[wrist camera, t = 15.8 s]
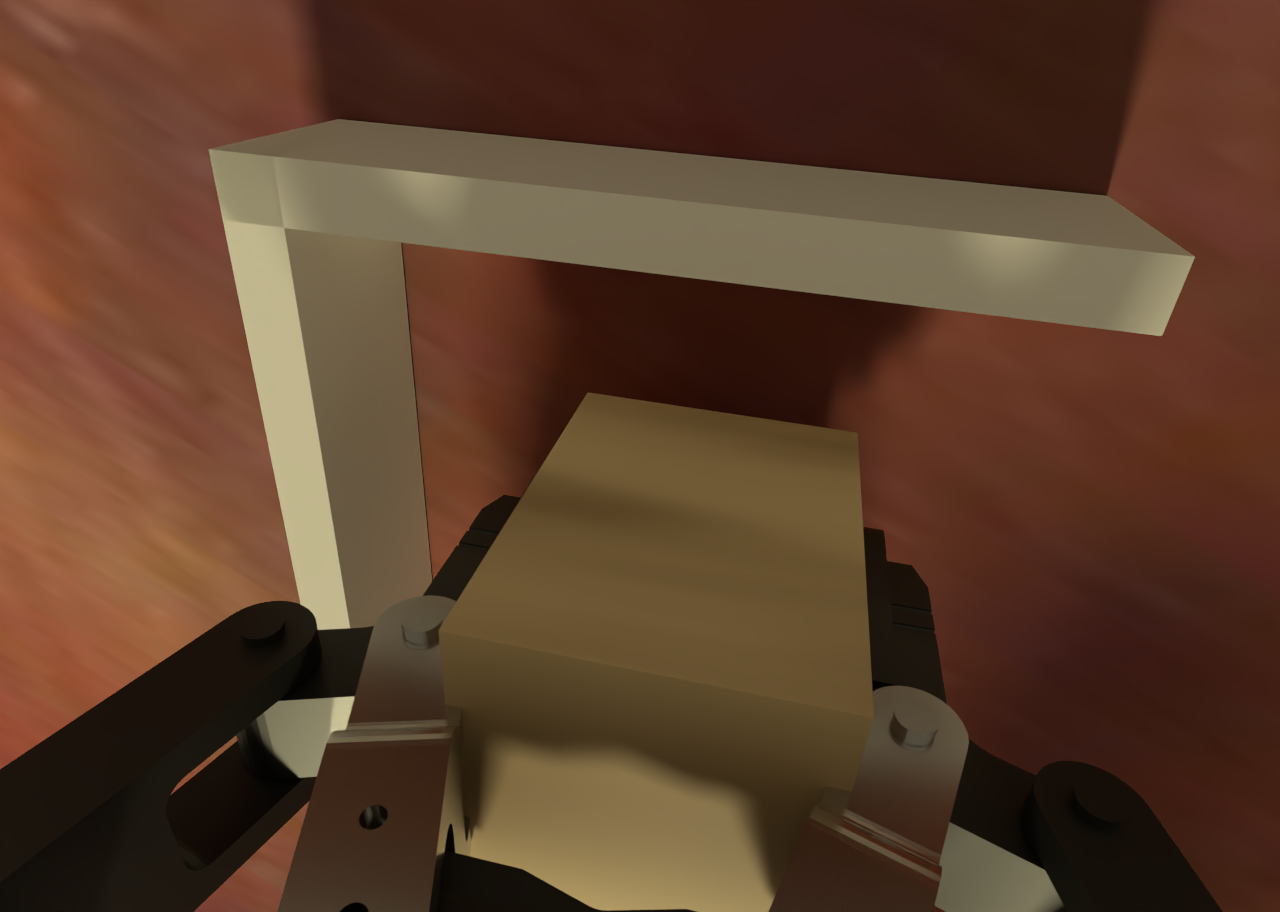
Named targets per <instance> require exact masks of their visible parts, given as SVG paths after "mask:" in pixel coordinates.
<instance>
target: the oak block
mask: <svg viewBox="0 0 1280 912" xmlns="http://www.w3.org/2000/svg"><path fill="white" fill-rule="evenodd" d="M439 642H440V653H441V664H442V675H443V686H444V697H445V704H446V705H451V706H456V707H460V708H462V719H463V732H464V737H463V746H462V758H461V791H462V803H463V815H464V816H467V817H470V824H471V837H472V841H471V853H470V856H471V857H475V858H479V859H483V860H487V861H491V862H495V863H499V864H503V865H508V866H512V867H516V868H520V869H523V870H525V871H527V872H529V873H530V874H532V875H534V876H536V877H538V878H539V879H541V880H543V881H545V882H547V883H548V884H550V885H552V886H554V887H556V888H557V889H559V890H561V891H563V892H565V893H566V894H568V895H570V896H572V897H574V898H575V899H577V900H579V901H581V902H583V903H584V904H586V905H588V906H590V907H592V908H594V909H598V910H606V911H611V910H662V909H688V910H692V911H697V912H769V909H770V907H771V905H772V902H773V900H774V898H775V895H776V893H777V891H778V888H779V886H780V884H781V881H782V879H783V877H784V874H785V872H786V870H787V867H788V865H789V863H790V860H791V858H792V856H793V853H794V851H795V849H796V846H797V844H798V842H799V839H800V837H801V835H802V832H803V830H804V828H805V825H806V823H807V821H808V819H809V816H810V814H811V812H812V810H813V808H814V807H815V805H817V806H819V804H820V802H821V800H822V797H823V795H824V793H825V790H826V788H827V786H828V787H833V788H837V789H842V790H846V791H851V792H852V789H853V786H854V783H855V779H856V776H857V773H858V769H859V766H860V763H861V759H862V756H863V753H864V750H865V746H866V743H867V740H868V736H869V733H870V730H871V726H872V723H873V720H874V708H873V691H872V673H871V656H870V638H869V621H868V603H867V586H866V569H865V551H864V534H863V516H862V499H861V481H860V464H859V446H858V433H857V432H850V431H844V430H837V429H830V428H823V427H817V426H810V425H803V424H797V423H790V422H783V421H776V420H770V419H763V418H756V417H750V416H743V415H736V414H729V413H723V412H716V411H709V410H703V409H696V408H689V407H682V406H676V405H669V404H662V403H656V402H649V401H642V400H635V399H629V398H622V397H615V396H609V395H602V394H595V393H587V394H586V396H585V397H584V399H583V401H582V402H581V404H580V405H579V407H578V409H577V410H576V412H575V413H574V415H573V417H572V418H571V420H570V421H569V423H568V424H567V426H566V428H565V429H564V431H563V432H562V434H561V436H560V437H559V439H558V440H557V442H556V444H555V445H554V447H553V448H552V450H551V452H550V453H549V455H548V456H547V458H546V460H545V461H544V463H543V464H542V466H541V468H540V469H539V471H538V472H537V474H536V476H535V477H534V479H533V480H532V482H531V484H530V485H529V487H528V488H527V490H526V492H525V493H524V495H523V496H522V498H521V500H520V501H519V503H518V504H517V506H516V508H515V509H514V511H513V512H512V514H511V516H510V517H509V519H508V520H507V522H506V524H505V525H504V527H503V528H502V530H501V532H500V533H499V535H498V536H497V538H496V540H495V541H494V543H493V544H492V546H491V547H490V549H489V551H488V552H487V554H486V555H485V557H484V559H483V560H482V562H481V563H480V565H479V567H478V568H477V570H476V571H475V573H474V575H473V576H472V578H471V579H470V581H469V583H468V584H467V586H466V587H465V589H464V591H463V592H462V594H461V595H460V597H459V599H458V600H457V602H456V603H455V605H454V607H453V608H452V610H451V611H450V613H449V615H448V616H447V618H446V619H445V621H444V623H443V624H442V626H441V627H440V629H439Z"/></svg>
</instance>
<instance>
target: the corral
mask: <svg viewBox="0 0 1280 912" xmlns="http://www.w3.org/2000/svg"><path fill="white" fill-rule="evenodd" d="M209 154H210V159H211V164H212V169H213V174H214V179H215V184H216V189H217V193H218V198H219V203H220V208H221V213H222V218H223V223H224V228H225V233H226V238H227V243H228V248H229V253H230V258H231V263H232V268H233V272H234V277H235V282H236V287H237V292H238V297H239V302H240V307H241V312H242V317H243V322H244V327H245V332H246V337H247V342H248V347H249V351H250V356H251V361H252V366H253V371H254V376H255V381H256V386H257V391H258V396H259V401H260V406H261V411H262V416H263V421H264V426H265V431H266V435H267V440H268V445H269V450H270V455H271V460H272V465H273V470H274V475H275V480H276V485H277V490H278V495H279V500H280V505H281V510H282V514H283V519H284V524H285V529H286V534H287V539H288V544H289V549H290V554H291V559H292V564H293V569H294V574H295V579H296V584H297V589H298V593H299V598H300V603H301V605H303V606H304V607H306V608H308V609H309V610H310V611H311V612H312V613H313V615H314V616H315V619H316V623H317V628H318V630H326V629H346V628H362V627H370V626H374V625H375V622H376V621H377V619H378V618H379V617H380V616H381V614H382V613H383V612H384V611H386V610H387V609H388V608H390V607H391V606H393V605H395V604H396V603H398V602H401V601H403V600H406V599H409V598H413V597H418V596H423V594H424V593H425V591H426V590H427V588H428V587H429V585H430V584H431V583H432V573H431V562H430V551H429V540H428V530H427V519H426V508H425V497H424V486H423V475H422V464H421V453H420V443H419V432H418V421H417V410H416V399H415V388H414V377H413V366H412V356H411V345H410V334H409V323H408V312H407V301H406V290H405V279H404V269H403V258H402V247H401V242H403V243H411V244H419V245H427V246H435V247H443V248H451V249H459V250H468V251H476V252H484V253H492V254H500V255H508V256H516V257H524V258H532V259H541V260H549V261H557V262H565V263H573V264H581V265H589V266H597V267H605V268H613V269H622V270H630V271H638V272H646V273H654V274H662V275H670V276H678V277H686V278H694V279H703V280H711V281H719V282H727V283H735V284H743V285H751V286H759V287H767V288H776V289H784V290H792V291H800V292H808V293H816V294H824V295H832V296H840V297H848V298H857V299H865V300H873V301H881V302H889V303H897V304H905V305H913V306H921V307H930V308H938V309H946V310H954V311H962V312H970V313H978V314H986V315H994V316H1002V317H1011V318H1019V319H1027V320H1035V321H1043V322H1051V323H1059V324H1067V325H1075V326H1084V327H1092V328H1100V329H1108V330H1116V331H1124V332H1132V333H1140V334H1148V335H1156V336H1162V335H1163V332H1164V330H1165V328H1166V325H1167V323H1168V320H1169V318H1170V316H1171V313H1172V311H1173V308H1174V306H1175V304H1176V301H1177V299H1178V296H1179V294H1180V292H1181V289H1182V287H1183V284H1184V282H1185V280H1186V277H1187V275H1188V272H1189V270H1190V268H1191V265H1192V263H1193V260H1194V258H1195V256H1193V255H1192V254H1190V253H1189V252H1187V251H1186V250H1185V249H1183V248H1182V247H1180V246H1179V245H1177V244H1176V243H1175V242H1173V241H1172V240H1170V239H1169V238H1167V237H1166V236H1165V235H1163V234H1162V233H1160V232H1159V231H1157V230H1156V229H1155V228H1153V227H1152V226H1150V225H1149V224H1147V223H1146V222H1144V221H1143V220H1142V219H1140V218H1139V217H1137V216H1136V215H1134V214H1133V213H1132V212H1130V211H1129V210H1127V209H1126V208H1124V207H1123V206H1122V205H1120V204H1119V203H1117V202H1116V201H1114V200H1113V199H1112V198H1110V197H1109V196H1104V195H1094V194H1084V193H1074V192H1064V191H1054V190H1044V189H1034V188H1024V187H1014V186H1004V185H994V184H984V183H974V182H964V181H954V180H944V179H934V178H924V177H914V176H904V175H894V174H884V173H874V172H864V171H854V170H844V169H834V168H824V167H814V166H804V165H794V164H784V163H774V162H764V161H754V160H744V159H734V158H724V157H714V156H704V155H694V154H684V153H674V152H664V151H654V150H644V149H634V148H624V147H614V146H604V145H594V144H584V143H574V142H564V141H554V140H544V139H534V138H524V137H514V136H504V135H494V134H484V133H474V132H464V131H454V130H444V129H434V128H424V127H414V126H404V125H393V124H383V123H373V122H363V121H353V120H343V119H336V120H332V121H328V122H324V123H319V124H315V125H311V126H306V127H302V128H298V129H294V130H289V131H285V132H281V133H276V134H272V135H268V136H264V137H259V138H255V139H251V140H246V141H242V142H238V143H234V144H229V145H225V146H221V147H216V148H212V149H209Z"/></svg>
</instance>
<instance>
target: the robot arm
mask: <svg viewBox="0 0 1280 912" xmlns="http://www.w3.org/2000/svg"><path fill="white" fill-rule="evenodd" d="M535 476H536V475H535ZM535 476H534V477H535ZM533 479H534V478H533ZM533 479H532V480H533ZM531 482H532V481H531ZM530 484H531V483H530ZM530 484H529V485H530ZM528 487H529V486H528ZM528 487H527V488H528ZM526 490H527V489H526ZM525 492H526V491H525ZM525 492H524V493H525ZM523 495H524V494H523ZM523 495H522V496H523ZM521 498H522V497H521ZM521 498H519V497H513V496H507V495H503V496H502V497H500V498H499V499H497V500H496V501H494V502H492V503H491V504H489V505H488V506H486V507H484V508H483V509H482V510H481V511H480V513H479V514H478V516H477V517H476V519H475V520H474V522H473V523H472V524H471V526H470V529H469V531H467V532H466V533H465V535H464V536H463V538H462V539H461V540H460V542H459V546H456V548H455V549H454V551H453V552H452V554H451V555H450V556H449V558H448V559H447V561H446V562H445V564H444V565H443V567H442V568H441V570H440V571H439V572H438V574H437V575H436V577H435V578H434V580H433V581H432V583H431V584H430V585H429V587H428V588H427V590H426V591H425V593H424V594H423V596H418V597H413V598H409V599H406V600H403V601H401V602H398V603H396V604H395V605H393V606H391V607H390V608H388V609H387V610H386V611H384V612H383V613H382V614H381V616H380V617H379V618H378V619H377V621H376V622H375V625H374V626H370V627H362V628H346V629H326V630H318V628H317V623H316V619H315V616H314V615H313V613H312V612H311V611H310V610H309V609H308V608H306V607H304V606H303V605H300V604H298V603H294V602H288V601H271V602H264V603H260V604H255V605H252V606H249V607H247V608H244V609H242V610H240V611H238V612H236V613H234V614H233V615H231V616H229V617H228V618H226V619H225V620H223V621H222V622H220V623H219V624H217V625H216V626H214V627H213V628H211V629H210V630H208V631H207V632H205V633H204V634H202V635H201V636H200V637H198V638H197V639H195V640H194V641H192V642H191V643H189V644H188V645H186V646H185V647H183V648H182V649H180V650H179V651H177V652H176V653H174V654H173V655H171V656H170V657H168V658H167V659H165V660H164V661H162V662H161V663H159V664H158V665H156V666H155V667H153V668H152V669H150V670H149V671H147V672H146V673H144V674H143V675H141V676H140V677H138V678H137V679H135V680H134V681H132V682H131V683H129V684H128V685H126V686H125V687H123V688H122V689H120V690H119V691H117V692H116V693H114V694H113V695H111V696H110V697H108V698H107V699H105V700H104V701H102V702H101V703H99V704H98V705H96V706H95V707H93V708H92V709H90V710H89V711H87V712H86V713H84V714H83V715H81V716H80V717H78V718H77V719H75V720H74V721H72V722H71V723H69V724H68V725H66V726H65V727H63V728H62V729H60V730H59V731H57V732H56V733H54V734H53V735H51V736H50V737H48V738H47V739H45V740H44V741H42V742H41V743H39V744H38V745H36V746H35V747H33V748H32V749H30V750H29V751H27V752H26V753H24V754H23V755H21V756H20V757H18V758H17V759H15V760H14V761H12V762H11V763H9V764H8V765H6V766H5V767H3V768H2V769H0V912H194V911H195V910H196V909H197V908H198V907H199V906H200V905H201V904H202V903H203V902H204V901H205V900H206V899H207V898H208V897H209V896H210V895H211V894H212V893H213V892H215V891H216V890H217V889H218V888H219V887H220V886H221V885H222V884H223V883H224V882H225V881H226V880H227V879H228V878H229V877H230V876H231V875H232V874H233V873H234V872H235V871H236V870H237V869H238V868H240V867H241V866H242V865H243V864H244V863H245V862H246V861H247V860H248V859H249V858H250V857H251V856H252V855H253V854H254V853H255V852H256V851H257V850H258V849H259V848H260V847H261V846H262V845H263V844H265V843H266V842H267V841H268V840H269V839H270V838H271V837H272V836H273V835H274V834H275V833H276V832H277V831H278V830H279V829H280V828H281V827H282V826H283V825H284V824H285V823H286V822H287V821H289V820H290V819H291V818H292V817H293V816H294V815H295V814H296V813H297V812H298V811H299V810H300V809H301V808H302V807H303V806H304V805H305V804H306V803H307V802H308V801H309V800H310V801H309V805H308V808H307V812H306V815H305V819H304V822H303V826H302V829H301V832H300V836H299V839H298V843H297V846H296V850H295V853H294V857H293V860H292V864H291V867H290V870H289V874H288V877H287V881H286V884H285V888H284V891H283V895H282V898H281V901H280V905H279V908H278V912H697V911H692V910H688V909H662V910H611V911H606V910H598V909H594V908H592V907H590V906H588V905H586V904H584V903H583V902H581V901H579V900H577V899H575V898H574V897H572V896H570V895H568V894H566V893H565V892H563V891H561V890H559V889H557V888H556V887H554V886H552V885H550V884H548V883H547V882H545V881H543V880H541V879H539V878H538V877H536V876H534V875H532V874H530V873H529V872H527V871H525V870H523V869H520V868H516V867H512V866H508V865H503V864H499V863H495V862H491V861H487V860H483V859H479V858H475V857H471V856H470V853H471V841H472V837H471V824H470V817H467V816H464V815H463V803H462V791H461V758H462V746H463V737H464V732H463V719H462V708H460V707H456V706H451V705H446V704H445V697H444V686H443V675H442V664H441V653H440V642H439V629H440V627H441V626H442V624H443V623H444V621H445V619H446V618H447V616H448V615H449V613H450V611H451V610H452V608H453V607H454V605H455V603H456V602H457V600H458V599H459V597H460V595H461V594H462V592H463V591H464V589H465V587H466V586H467V584H468V583H469V581H470V579H471V578H472V576H473V575H474V573H475V571H476V570H477V568H478V567H479V565H480V563H481V562H482V560H483V559H484V557H485V555H486V554H487V552H488V551H489V549H490V547H491V546H492V544H493V543H494V541H495V540H496V538H497V536H498V535H499V533H500V532H501V530H502V528H503V527H504V525H505V524H506V522H507V520H508V519H509V517H510V516H511V514H512V512H513V511H514V509H515V508H516V506H517V504H518V503H519V501H520V500H521ZM863 534H864V551H865V569H866V586H867V603H868V621H869V638H870V656H871V673H872V691H873V708H874V720H873V723H872V726H871V730H870V733H869V736H868V740H867V743H866V746H865V750H864V753H863V756H862V759H861V763H860V766H859V769H858V773H857V776H856V779H855V783H854V786H853V789H852V792H851V791H846V790H842V789H837V788H833V787H828V786H827V788H826V790H825V793H824V795H823V797H822V800H821V802H820V804H819V806H817V805H815V807H814V808H813V810H812V812H811V814H810V816H809V819H808V821H807V823H806V825H805V828H804V830H803V832H802V835H801V837H800V839H799V842H798V844H797V846H796V849H795V851H794V853H793V856H792V858H791V860H790V863H789V865H788V867H787V870H786V872H785V874H784V877H783V879H782V881H781V884H780V886H779V888H778V891H777V893H776V895H775V898H774V900H773V902H772V905H771V907H770V909H769V912H933V909H934V906H936V907H938V908H940V909H942V910H943V911H945V912H1222V910H1221V909H1220V907H1219V906H1218V904H1217V903H1216V902H1215V900H1214V899H1213V897H1212V896H1211V894H1210V893H1209V892H1208V890H1207V889H1206V887H1205V886H1204V884H1203V883H1202V882H1201V880H1200V879H1199V877H1198V876H1197V874H1196V873H1195V872H1194V870H1193V869H1192V867H1191V866H1190V864H1189V863H1188V862H1187V860H1186V859H1185V857H1184V856H1183V855H1182V853H1181V852H1180V850H1179V849H1178V847H1177V846H1176V845H1175V843H1174V842H1173V840H1172V839H1171V837H1170V836H1169V835H1168V833H1167V832H1166V830H1165V829H1164V827H1163V826H1162V825H1161V823H1160V822H1159V820H1158V819H1157V817H1156V816H1155V815H1154V813H1153V812H1152V810H1151V809H1150V807H1149V806H1148V805H1147V804H1146V802H1145V801H1144V800H1143V799H1142V798H1141V797H1140V796H1139V795H1138V794H1137V793H1136V792H1135V791H1134V790H1133V789H1132V788H1131V787H1129V786H1128V785H1127V784H1126V783H1124V782H1123V781H1121V780H1120V779H1119V778H1117V777H1116V776H1114V775H1112V774H1110V773H1108V772H1106V771H1104V770H1102V769H1100V768H1097V767H1095V766H1092V765H1089V764H1085V763H1081V762H1075V761H1059V762H1054V763H1051V764H1048V765H1047V766H1045V767H1043V768H1042V769H1041V770H1040V771H1039V772H1038V774H1037V776H1036V775H1034V774H1031V773H1029V772H1027V771H1025V770H1023V769H1020V768H1018V767H1016V766H1014V765H1012V764H1010V763H1007V762H1005V761H1003V760H1001V759H999V758H997V757H995V756H993V755H991V754H989V753H988V752H986V751H985V750H983V749H981V748H980V747H979V746H977V745H976V744H975V743H973V742H972V741H971V740H970V739H969V738H968V734H967V731H966V728H965V726H964V724H963V722H962V720H961V719H960V718H959V716H958V715H957V714H956V713H955V712H954V711H953V710H952V709H951V708H950V707H949V706H948V705H947V703H946V697H945V690H944V684H943V678H942V672H941V666H940V659H939V653H938V647H937V641H936V635H935V634H934V630H935V628H934V622H933V616H932V615H931V611H932V610H931V604H930V597H929V591H928V587H927V586H926V584H925V583H924V582H923V580H922V579H921V578H920V576H919V575H918V573H917V572H916V571H915V569H914V568H913V567H912V565H906V564H900V563H894V562H889V561H887V559H886V548H885V538H884V532H883V530H878V529H872V528H866V527H863ZM235 735H236V736H237V739H238V741H237V742H235V743H234V744H233V745H232V746H230V747H229V748H228V749H227V750H226V751H224V752H223V753H222V754H221V755H219V756H218V757H217V758H216V759H215V760H213V761H212V762H211V763H210V764H208V765H207V766H206V767H205V768H203V769H202V770H201V771H200V772H199V773H197V774H196V775H195V776H194V777H192V778H191V779H190V780H189V781H188V782H186V783H185V784H184V785H183V786H181V787H180V788H179V789H178V790H176V791H175V792H174V793H173V794H172V795H170V794H171V793H172V791H173V789H174V788H175V787H176V785H177V784H178V783H179V782H180V781H181V780H182V779H183V778H184V777H185V776H186V775H187V774H188V773H190V772H191V771H192V770H193V769H195V768H196V767H197V766H198V765H200V764H201V763H202V762H203V761H204V760H206V759H207V758H208V757H209V756H211V755H212V754H213V753H214V752H216V751H217V750H218V749H219V748H221V747H222V746H223V745H224V744H226V743H227V742H228V741H229V740H231V739H232V738H233V737H234V736H235Z"/></svg>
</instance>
